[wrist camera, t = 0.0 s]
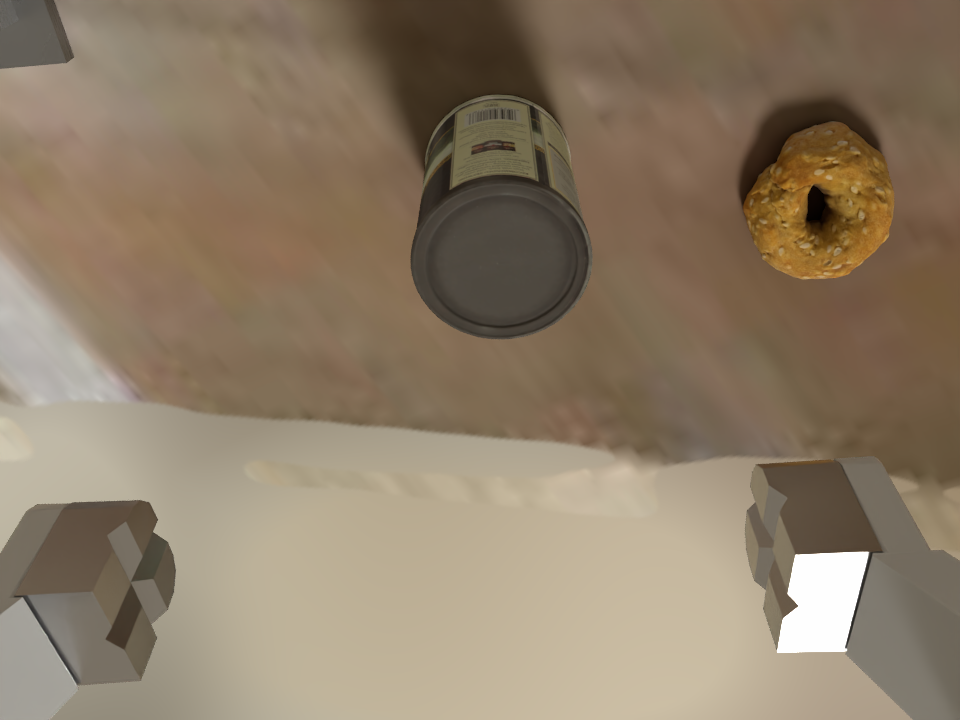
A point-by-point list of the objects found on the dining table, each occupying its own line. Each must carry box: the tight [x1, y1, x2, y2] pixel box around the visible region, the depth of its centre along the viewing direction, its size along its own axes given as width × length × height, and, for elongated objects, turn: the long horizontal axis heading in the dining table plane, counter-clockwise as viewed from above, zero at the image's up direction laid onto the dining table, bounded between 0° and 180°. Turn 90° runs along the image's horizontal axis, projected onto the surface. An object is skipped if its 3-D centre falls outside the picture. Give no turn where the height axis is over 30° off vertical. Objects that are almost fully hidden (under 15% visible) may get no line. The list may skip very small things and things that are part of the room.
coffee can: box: [411, 95, 592, 339], centre depth 54 cm, size 10×10×14 cm
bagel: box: [743, 121, 894, 279], centre depth 59 cm, size 10×11×5 cm
